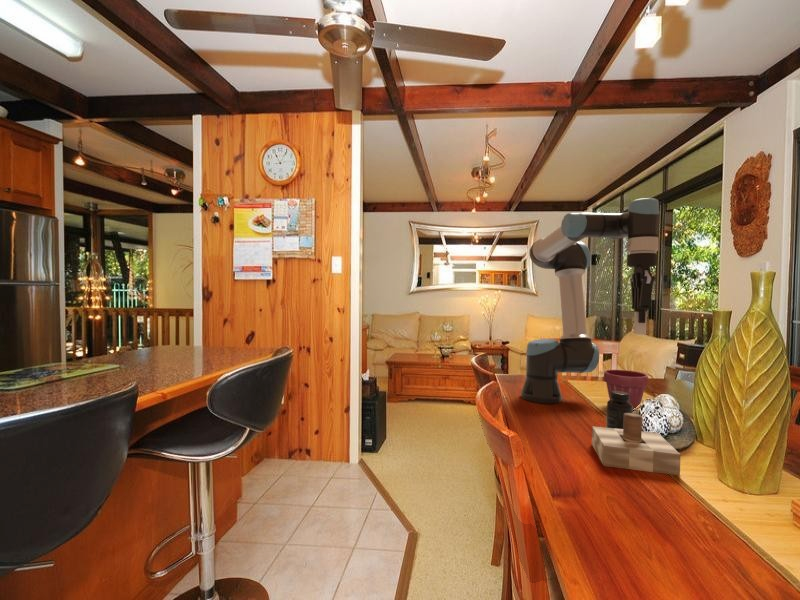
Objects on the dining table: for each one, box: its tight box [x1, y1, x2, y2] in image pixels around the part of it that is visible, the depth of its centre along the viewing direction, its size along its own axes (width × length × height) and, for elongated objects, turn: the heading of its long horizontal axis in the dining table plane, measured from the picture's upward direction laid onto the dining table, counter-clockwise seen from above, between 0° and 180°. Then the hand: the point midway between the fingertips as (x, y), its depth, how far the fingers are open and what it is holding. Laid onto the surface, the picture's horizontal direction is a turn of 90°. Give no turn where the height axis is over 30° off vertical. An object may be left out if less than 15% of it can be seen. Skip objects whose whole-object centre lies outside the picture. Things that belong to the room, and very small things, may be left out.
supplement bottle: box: [605, 391, 634, 429], centre depth 116 cm, size 7×7×12 cm
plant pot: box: [603, 369, 649, 409], centre depth 141 cm, size 14×14×13 cm
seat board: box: [591, 426, 681, 476], centre depth 97 cm, size 14×16×5 cm
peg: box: [623, 412, 643, 443], centre depth 97 cm, size 4×4×11 cm
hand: (639, 333), depth 111 cm, fingers closed
